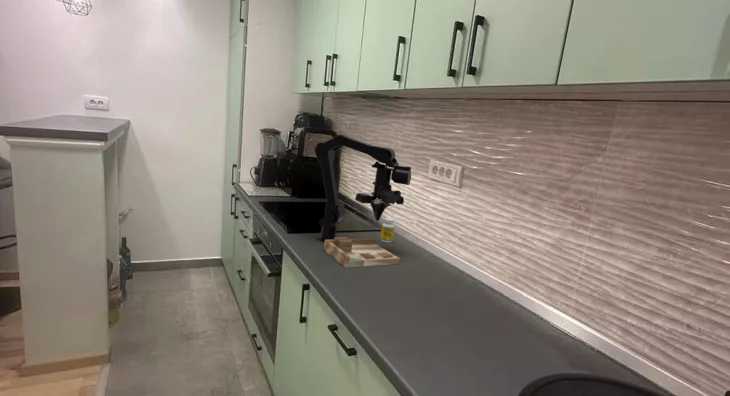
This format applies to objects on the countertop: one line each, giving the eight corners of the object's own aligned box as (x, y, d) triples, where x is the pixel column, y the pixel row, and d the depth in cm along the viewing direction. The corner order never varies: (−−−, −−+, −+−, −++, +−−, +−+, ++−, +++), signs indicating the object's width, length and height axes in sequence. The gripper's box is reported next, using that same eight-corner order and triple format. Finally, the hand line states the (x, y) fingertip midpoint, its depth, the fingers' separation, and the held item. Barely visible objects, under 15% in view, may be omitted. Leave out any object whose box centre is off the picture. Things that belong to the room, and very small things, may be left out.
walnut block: (333, 247, 148) (334, 237, 147) (345, 247, 151) (346, 237, 150) (339, 252, 144) (340, 241, 143) (351, 251, 146) (352, 241, 146)
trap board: (323, 250, 150) (324, 239, 150) (373, 247, 162) (375, 238, 161) (345, 267, 135) (346, 256, 135) (399, 263, 146) (400, 253, 146)
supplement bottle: (390, 239, 177) (394, 218, 175) (393, 243, 172) (396, 221, 170) (378, 238, 176) (382, 217, 174) (381, 242, 171) (384, 220, 169)
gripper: (371, 183, 142) (365, 226, 145) (414, 185, 151) (408, 226, 154) (357, 178, 152) (352, 218, 154) (398, 180, 161) (393, 218, 163)
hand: (377, 220), depth 156 cm, fingers closed
